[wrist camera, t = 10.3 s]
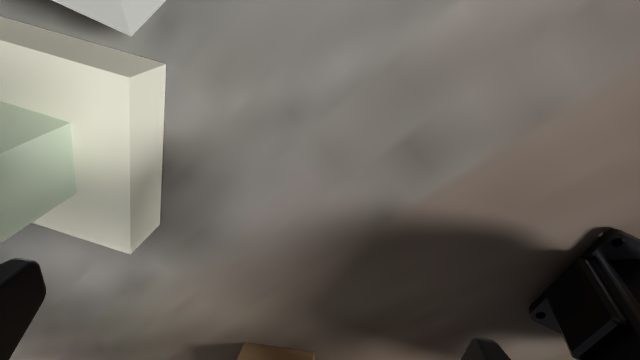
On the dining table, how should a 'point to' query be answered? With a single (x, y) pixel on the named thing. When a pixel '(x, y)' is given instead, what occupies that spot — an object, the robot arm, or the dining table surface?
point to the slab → (94, 128)
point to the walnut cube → (272, 353)
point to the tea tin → (32, 166)
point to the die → (116, 12)
